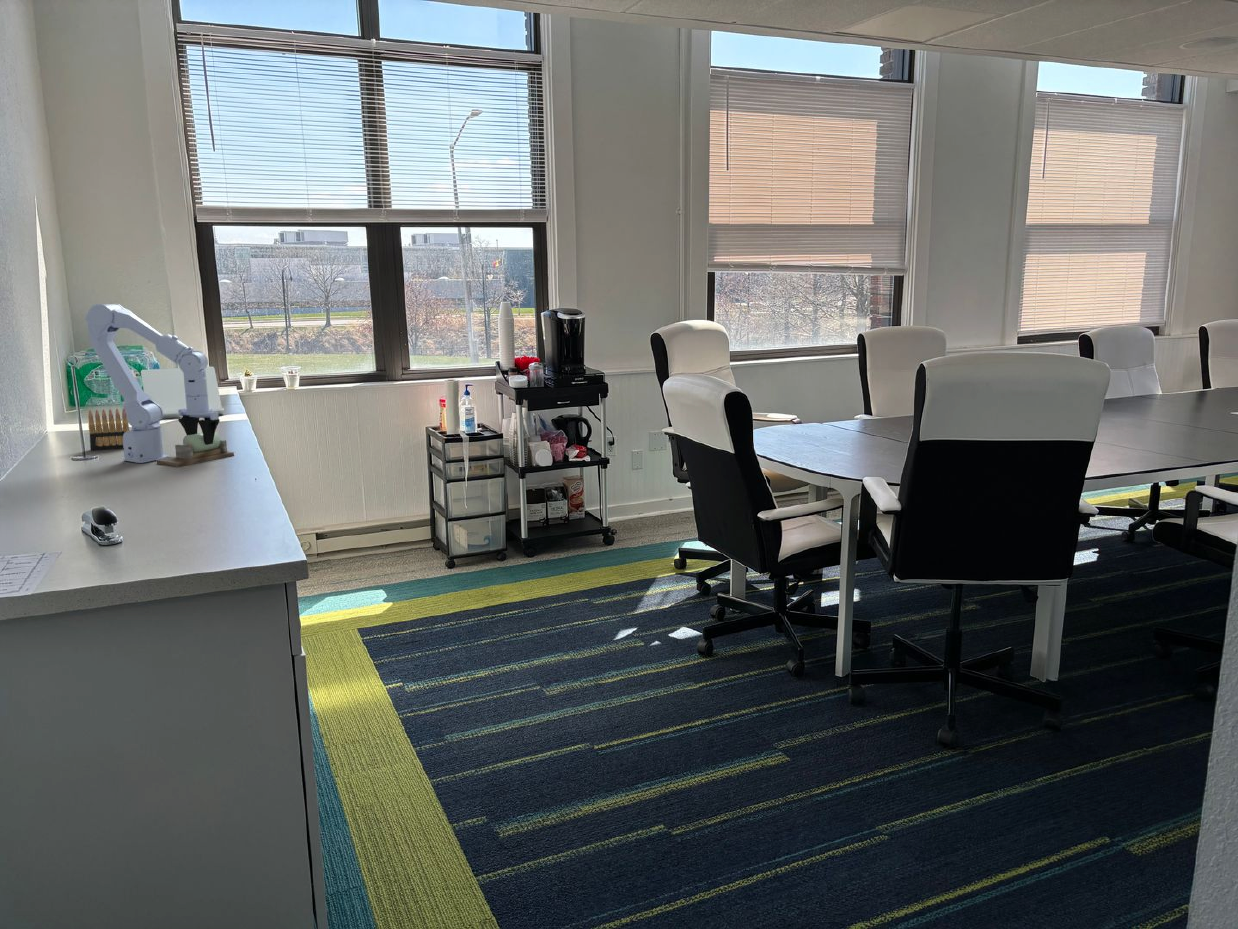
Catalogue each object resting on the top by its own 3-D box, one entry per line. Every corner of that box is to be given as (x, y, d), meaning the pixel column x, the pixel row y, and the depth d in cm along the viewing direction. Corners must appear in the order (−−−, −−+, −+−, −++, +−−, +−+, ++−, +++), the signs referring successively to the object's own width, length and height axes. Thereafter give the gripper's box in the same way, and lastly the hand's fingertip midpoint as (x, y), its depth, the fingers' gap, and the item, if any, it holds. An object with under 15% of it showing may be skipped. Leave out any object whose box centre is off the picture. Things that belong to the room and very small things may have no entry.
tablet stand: (144, 415, 340) (139, 369, 336) (216, 409, 353) (212, 365, 349) (149, 421, 325) (144, 373, 321) (224, 416, 338) (220, 370, 334)
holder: (177, 466, 248) (176, 450, 247) (156, 463, 252) (155, 447, 251) (234, 455, 263) (232, 440, 262) (213, 452, 267) (211, 437, 267)
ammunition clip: (90, 450, 270) (85, 410, 268) (91, 449, 272) (86, 409, 269) (131, 448, 274) (127, 408, 272) (131, 447, 276) (127, 407, 274)
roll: (195, 455, 255) (194, 436, 253) (183, 452, 257) (182, 434, 256) (220, 450, 261) (219, 432, 260) (208, 447, 264) (207, 430, 263)
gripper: (226, 395, 256) (230, 443, 258) (192, 391, 263) (196, 438, 265) (204, 398, 250) (208, 447, 252) (170, 394, 257) (174, 442, 259)
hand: (201, 443), depth 258 cm, fingers open, 6 cm apart
